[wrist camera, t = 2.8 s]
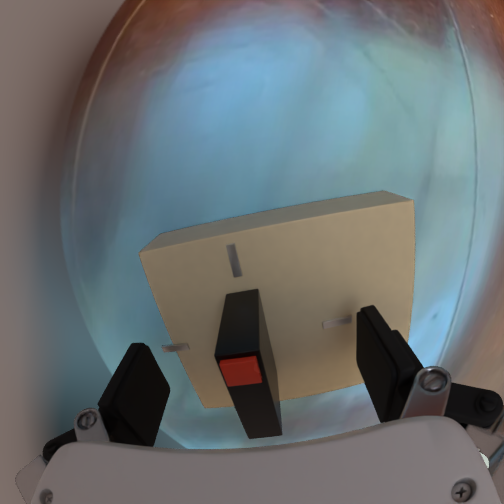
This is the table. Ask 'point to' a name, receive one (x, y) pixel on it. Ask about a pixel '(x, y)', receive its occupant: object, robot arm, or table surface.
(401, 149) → the table surface
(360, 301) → the panel
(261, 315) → the knob
